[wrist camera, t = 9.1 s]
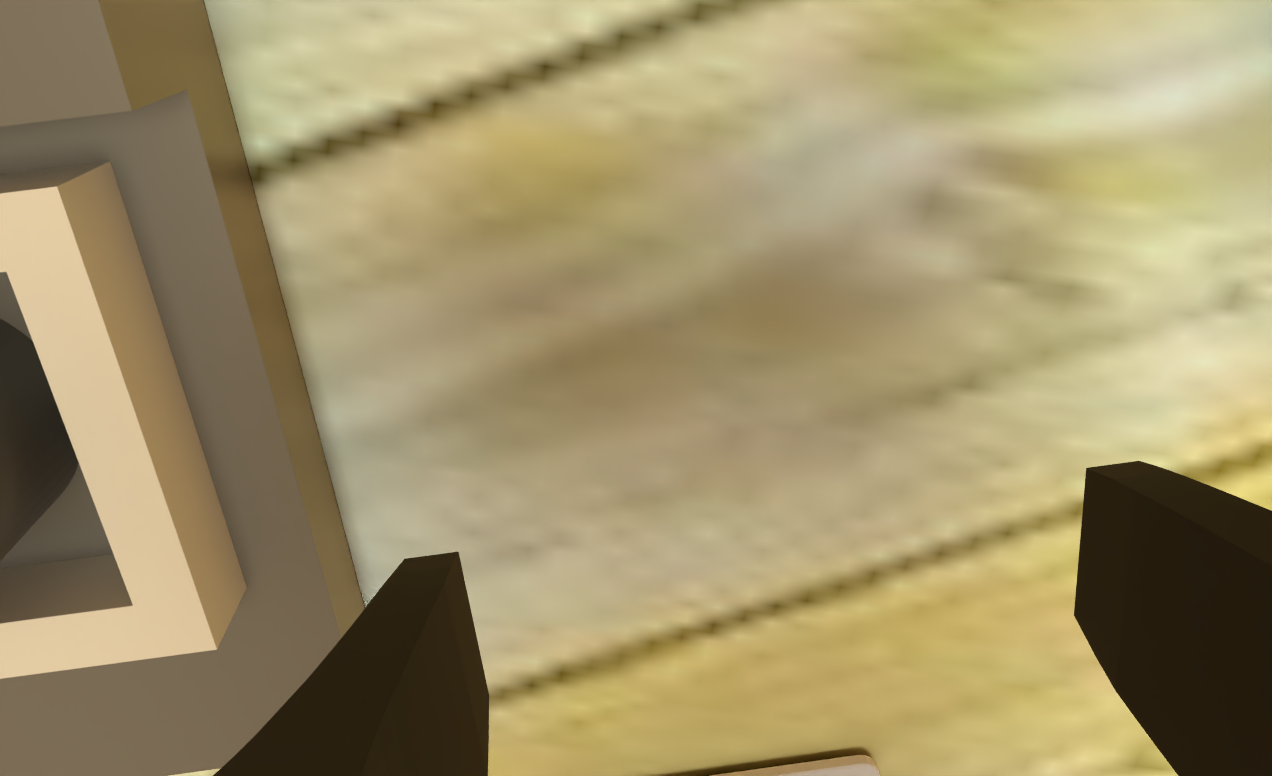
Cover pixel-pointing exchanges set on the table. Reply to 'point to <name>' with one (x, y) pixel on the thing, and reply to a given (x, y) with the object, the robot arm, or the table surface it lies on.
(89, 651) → the base with square socket
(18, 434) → the lens
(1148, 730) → the robot arm
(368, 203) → the table surface
